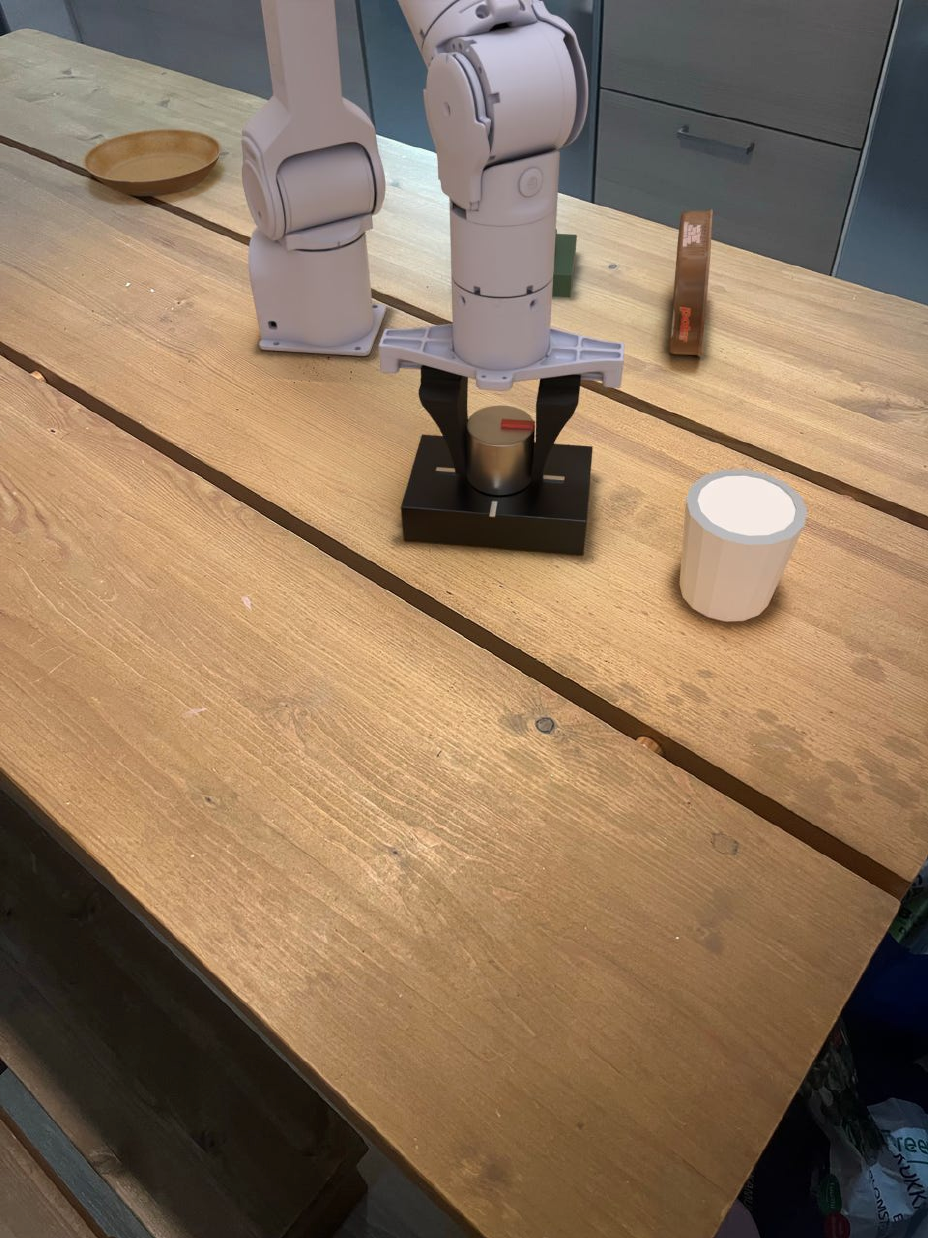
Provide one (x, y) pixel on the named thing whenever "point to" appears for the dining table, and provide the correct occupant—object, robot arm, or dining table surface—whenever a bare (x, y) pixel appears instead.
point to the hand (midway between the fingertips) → (499, 467)
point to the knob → (500, 449)
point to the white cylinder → (737, 541)
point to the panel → (498, 504)
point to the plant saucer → (153, 161)
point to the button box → (563, 264)
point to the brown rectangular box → (691, 282)
